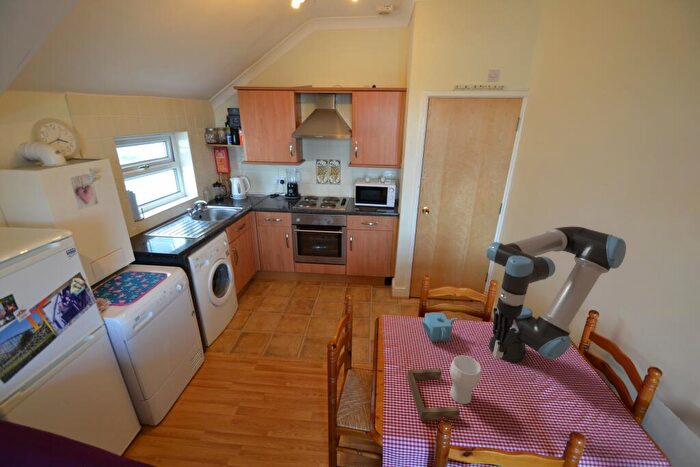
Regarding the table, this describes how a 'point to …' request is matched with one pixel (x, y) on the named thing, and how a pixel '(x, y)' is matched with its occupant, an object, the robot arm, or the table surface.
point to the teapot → (438, 326)
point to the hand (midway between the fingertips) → (497, 356)
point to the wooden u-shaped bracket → (423, 412)
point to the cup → (464, 378)
